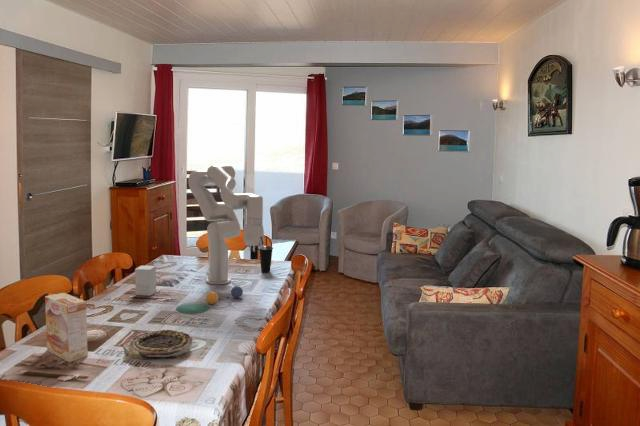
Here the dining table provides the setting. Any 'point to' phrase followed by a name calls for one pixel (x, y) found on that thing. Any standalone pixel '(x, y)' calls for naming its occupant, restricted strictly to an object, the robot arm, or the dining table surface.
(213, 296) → the orange ball
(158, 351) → the woven basket
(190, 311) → the green mark
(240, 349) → the dining table surface
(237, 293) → the dark blue ball
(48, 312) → the coffeecake box
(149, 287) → the supplement box
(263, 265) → the drinking cup
